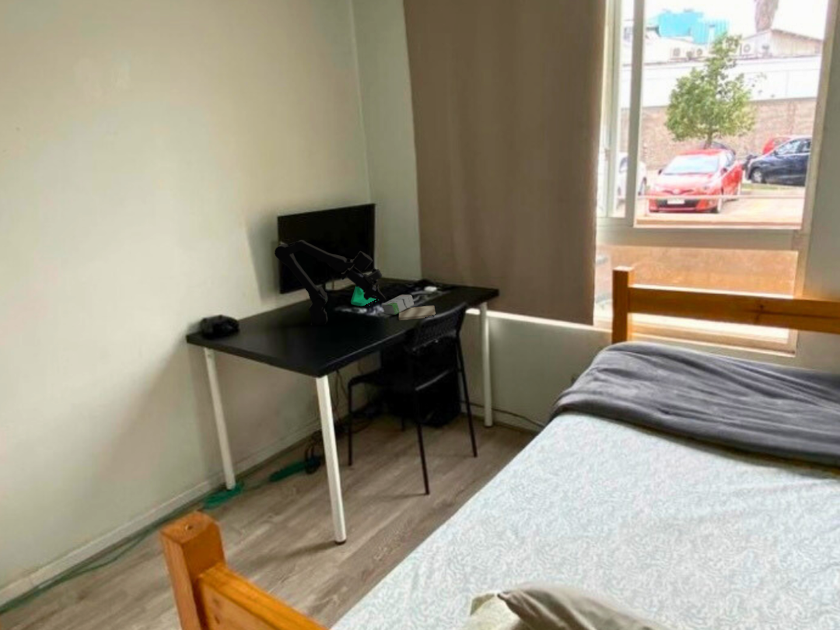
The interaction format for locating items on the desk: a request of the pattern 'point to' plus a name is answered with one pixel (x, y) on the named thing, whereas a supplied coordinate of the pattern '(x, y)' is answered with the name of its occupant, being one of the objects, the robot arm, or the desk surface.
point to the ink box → (398, 304)
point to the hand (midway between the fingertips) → (385, 300)
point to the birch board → (417, 312)
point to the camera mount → (360, 298)
